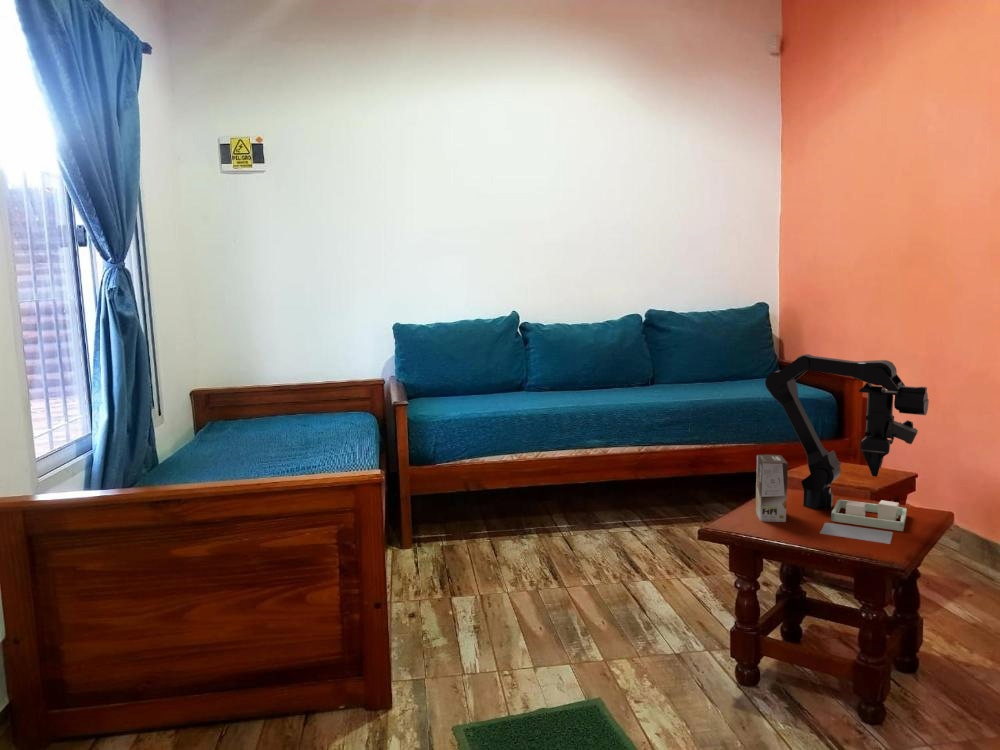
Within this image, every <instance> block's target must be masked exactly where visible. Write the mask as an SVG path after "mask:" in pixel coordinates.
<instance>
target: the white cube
mask: <svg viewBox="0 0 1000 750" xmlns="http://www.w3.org/2000/svg"><path fill="white" fill-rule="evenodd" d="M866 503H867V502H863V501H856V500H848V502H847V504H846V509H845V514H848V515H855V516H863V517H866V511H865V510H866Z"/></svg>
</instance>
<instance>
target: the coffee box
mask: <svg viewBox="0 0 1000 750" xmlns="http://www.w3.org/2000/svg"><path fill="white" fill-rule="evenodd" d="M788 468H789V463H788V462H787V460H786V459H785V458H784V457H783V456H782V455H781V454H757V455H756V470H755V471H756V473H755V474H756V475H755V477H756V479H755V481H756V482H755V512H756V513H755V514H756V516H757V517H758V519H759V521H760V522H773V523H775V522H776V523H777V522H779V523H780V522H781V523H786V522H787V500H788Z"/></svg>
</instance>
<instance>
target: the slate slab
mask: <svg viewBox="0 0 1000 750" xmlns="http://www.w3.org/2000/svg"><path fill="white" fill-rule="evenodd" d="M819 534H820V535H827V536H832V537H833V536H834V537H841V538H846V539H847V538H848V539H852V540H853V539H854V540H859V541H866V542H874V543H881V544H886V545H890V544H892V543H891V542H892V538H893V534H894V532H893V531H888V530H887V531H886V530H881V529H875V528H867V527H862V526H853V525H846V524H841V523H840V524H839V523H838V524H837V523H832V522H826V521H825V522H824V524H823V526H822V528H821V529H820V532H819Z"/></svg>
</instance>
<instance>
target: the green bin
mask: <svg viewBox="0 0 1000 750" xmlns="http://www.w3.org/2000/svg"><path fill="white" fill-rule="evenodd" d="M847 502H848V500H846V499H840V498H838V499H837V500H836V503H835V505H834V506H833V509H831V513H830V521H831V522H836V523H840V524H841V523H842V524H849V525H850V524H851V525H857V526H861V527H862V526H864V527H870V528H877V529H884V530H892V531H898V532H904V528H905V524H906V519H907V513H908V511H907V509H908V508H907V507H902V506H901V507H900V506H899V509H898V517H900V521H897V520H896V521H892V520H885V519H878V517H877V518H875V517H868V516H865V517H863V516H855V515H848V514H846V513H842V512H841V513H840V511H841V509H845V510H846V504H847ZM865 503H866V510H865V512H867V513H868V512H869V513H874V514H875V513H876V514H878V504H879V503H871V502H865Z"/></svg>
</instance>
